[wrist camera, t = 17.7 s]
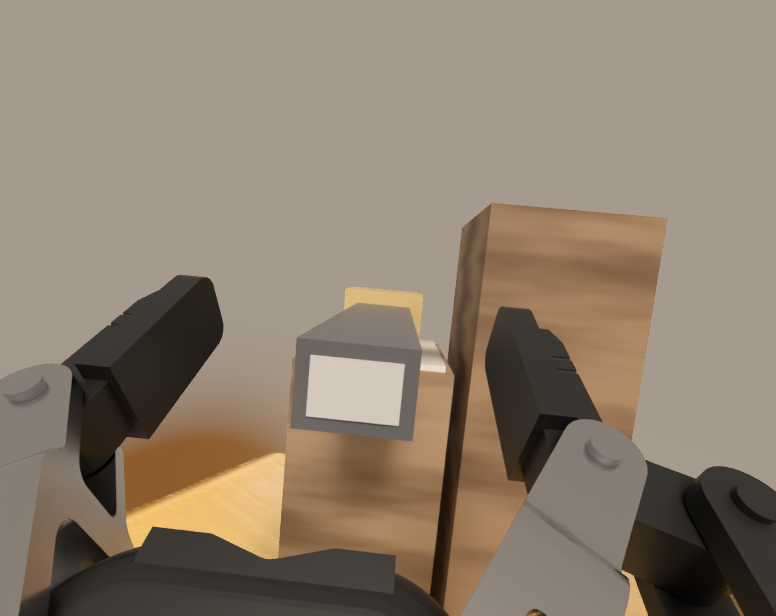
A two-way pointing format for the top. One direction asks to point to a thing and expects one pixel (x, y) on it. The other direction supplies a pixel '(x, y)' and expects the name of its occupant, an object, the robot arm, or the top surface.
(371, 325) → the bar
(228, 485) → the top surface
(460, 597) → the brown stepped block
